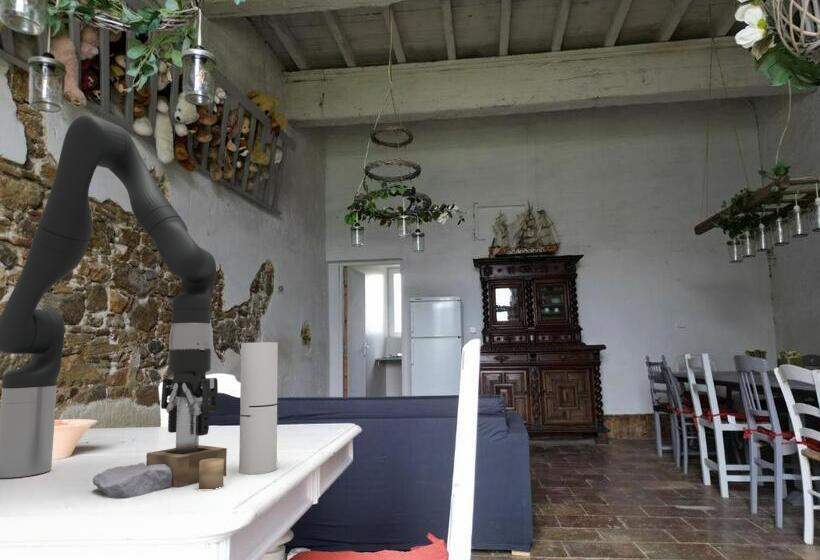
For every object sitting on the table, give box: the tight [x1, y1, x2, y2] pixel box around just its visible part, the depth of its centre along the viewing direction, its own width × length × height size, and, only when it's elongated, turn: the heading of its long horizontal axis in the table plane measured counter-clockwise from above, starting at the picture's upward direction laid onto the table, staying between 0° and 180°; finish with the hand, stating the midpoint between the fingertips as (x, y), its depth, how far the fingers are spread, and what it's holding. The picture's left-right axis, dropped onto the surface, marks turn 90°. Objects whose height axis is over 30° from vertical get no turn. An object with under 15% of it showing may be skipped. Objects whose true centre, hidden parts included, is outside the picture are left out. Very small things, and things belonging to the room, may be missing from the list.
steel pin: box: [175, 397, 200, 455], centre depth 100 cm, size 4×4×15 cm
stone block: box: [92, 462, 173, 499], centre depth 92 cm, size 12×5×10 cm
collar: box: [145, 444, 228, 488], centre depth 99 cm, size 10×10×5 cm
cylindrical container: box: [238, 341, 279, 475], centre depth 106 cm, size 7×7×25 cm
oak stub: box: [198, 458, 225, 490], centre depth 92 cm, size 4×4×4 cm
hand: (187, 433), depth 100 cm, fingers open, 8 cm apart
